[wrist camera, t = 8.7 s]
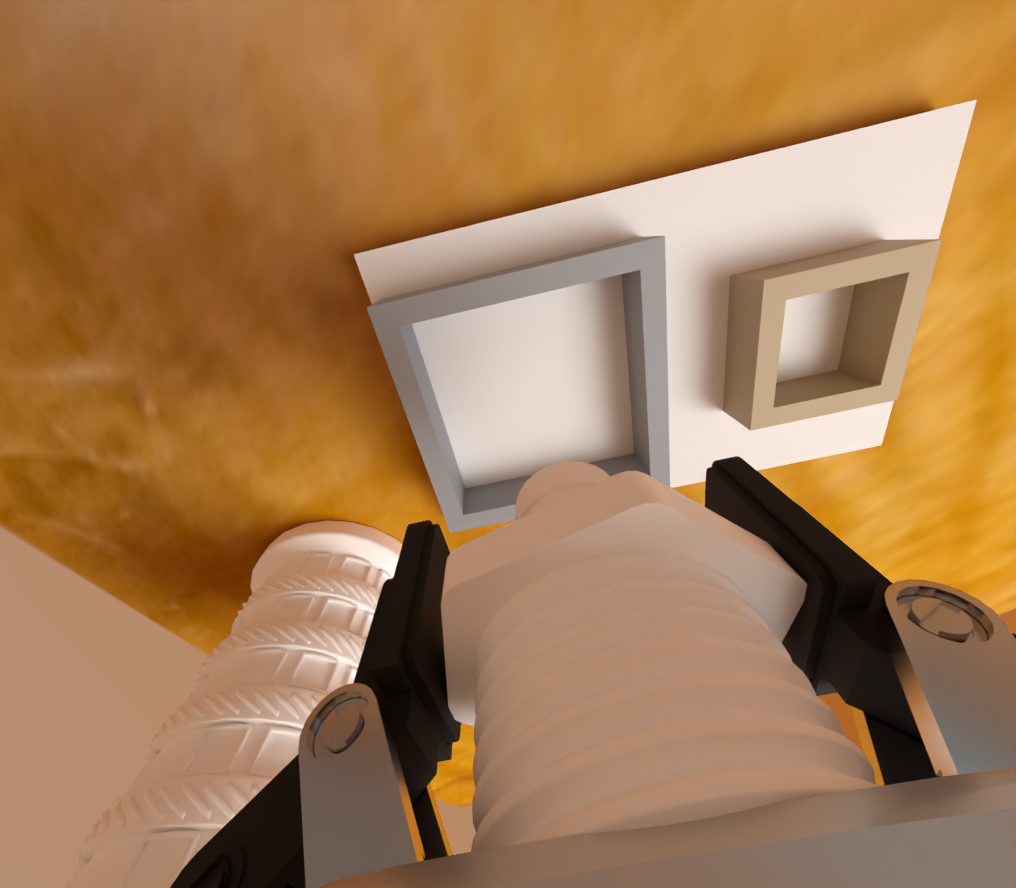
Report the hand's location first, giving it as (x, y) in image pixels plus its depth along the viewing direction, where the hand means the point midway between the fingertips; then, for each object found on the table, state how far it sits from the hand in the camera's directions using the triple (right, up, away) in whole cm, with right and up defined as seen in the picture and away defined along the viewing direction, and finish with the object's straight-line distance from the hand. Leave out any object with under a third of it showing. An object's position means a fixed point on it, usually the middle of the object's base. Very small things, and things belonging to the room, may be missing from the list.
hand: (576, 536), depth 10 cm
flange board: (+6, +7, +11) cm, 14 cm away
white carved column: (-14, -8, +18) cm, 24 cm away
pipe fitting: (0, +1, +1) cm, 2 cm away
